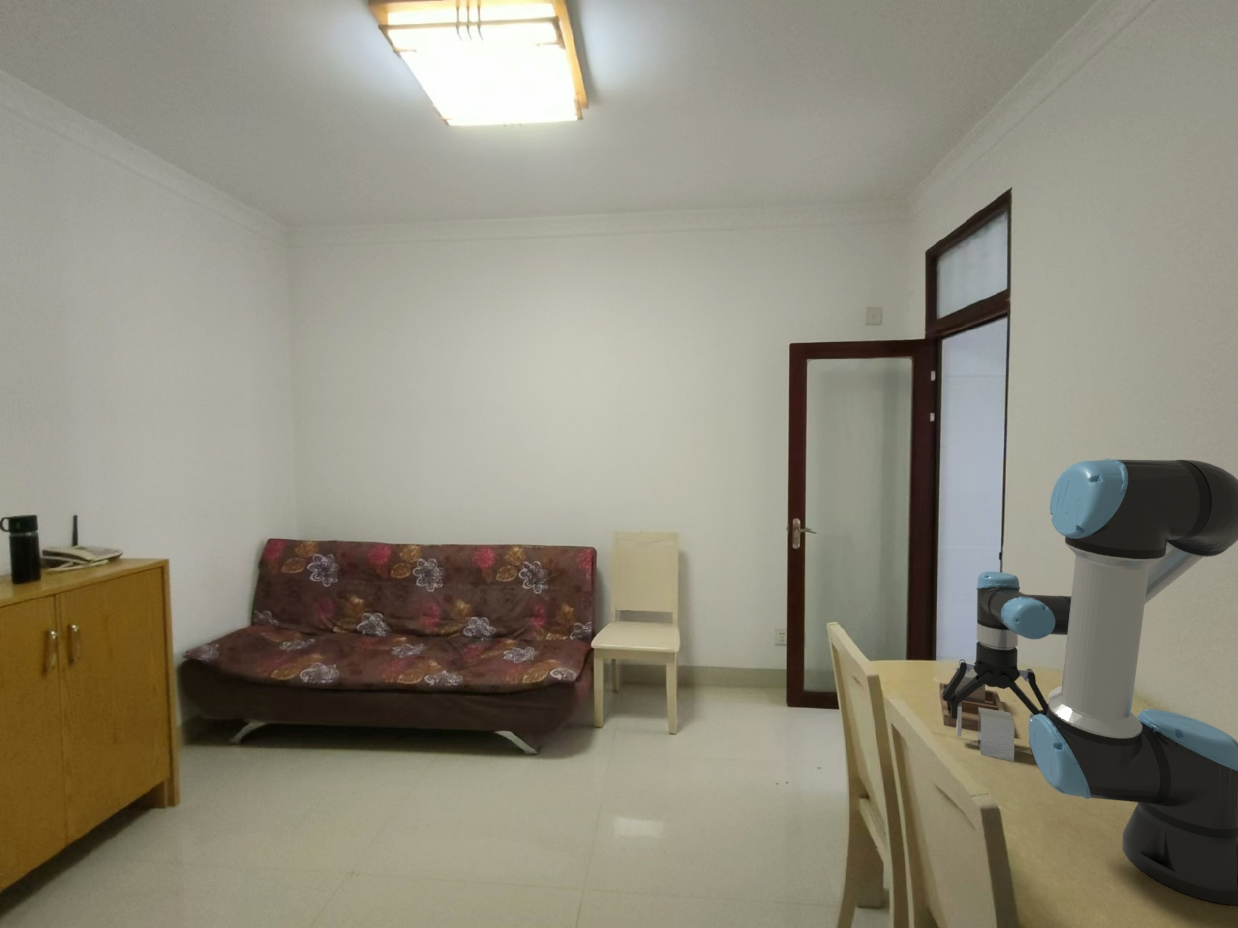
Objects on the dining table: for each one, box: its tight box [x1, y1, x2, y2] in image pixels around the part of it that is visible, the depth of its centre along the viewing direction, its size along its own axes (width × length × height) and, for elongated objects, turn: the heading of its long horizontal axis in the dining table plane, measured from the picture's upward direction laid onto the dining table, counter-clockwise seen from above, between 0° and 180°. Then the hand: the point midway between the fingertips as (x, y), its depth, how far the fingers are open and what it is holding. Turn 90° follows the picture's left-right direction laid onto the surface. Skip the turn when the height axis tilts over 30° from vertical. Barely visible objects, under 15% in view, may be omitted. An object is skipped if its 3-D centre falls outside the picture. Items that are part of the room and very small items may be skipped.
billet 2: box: [977, 707, 1015, 762], centre depth 127 cm, size 6×6×8 cm
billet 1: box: [954, 667, 986, 704], centre depth 148 cm, size 6×6×8 cm
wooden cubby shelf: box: [938, 682, 1005, 732], centre depth 144 cm, size 21×13×4 cm, turn 154°
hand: (994, 739), depth 128 cm, fingers open, 13 cm apart
